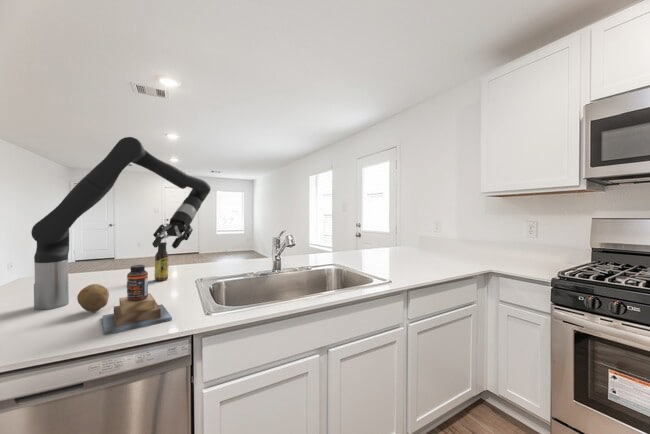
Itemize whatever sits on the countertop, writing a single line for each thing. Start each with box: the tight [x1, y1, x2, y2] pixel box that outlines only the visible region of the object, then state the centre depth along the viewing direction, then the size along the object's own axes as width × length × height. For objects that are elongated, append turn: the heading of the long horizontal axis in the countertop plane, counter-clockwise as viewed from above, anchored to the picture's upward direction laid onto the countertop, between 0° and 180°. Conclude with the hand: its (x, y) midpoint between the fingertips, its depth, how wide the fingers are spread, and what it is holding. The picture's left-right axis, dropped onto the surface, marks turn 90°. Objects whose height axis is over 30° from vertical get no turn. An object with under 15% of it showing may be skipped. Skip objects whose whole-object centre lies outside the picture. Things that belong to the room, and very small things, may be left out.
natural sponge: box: [76, 283, 110, 313], centre depth 102 cm, size 9×9×10 cm
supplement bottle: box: [126, 264, 149, 301], centre depth 95 cm, size 6×6×11 cm
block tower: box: [102, 292, 173, 336], centre depth 95 cm, size 18×16×7 cm
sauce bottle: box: [154, 241, 170, 282], centre depth 146 cm, size 7×6×20 cm
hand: (164, 246), depth 109 cm, fingers open, 8 cm apart
